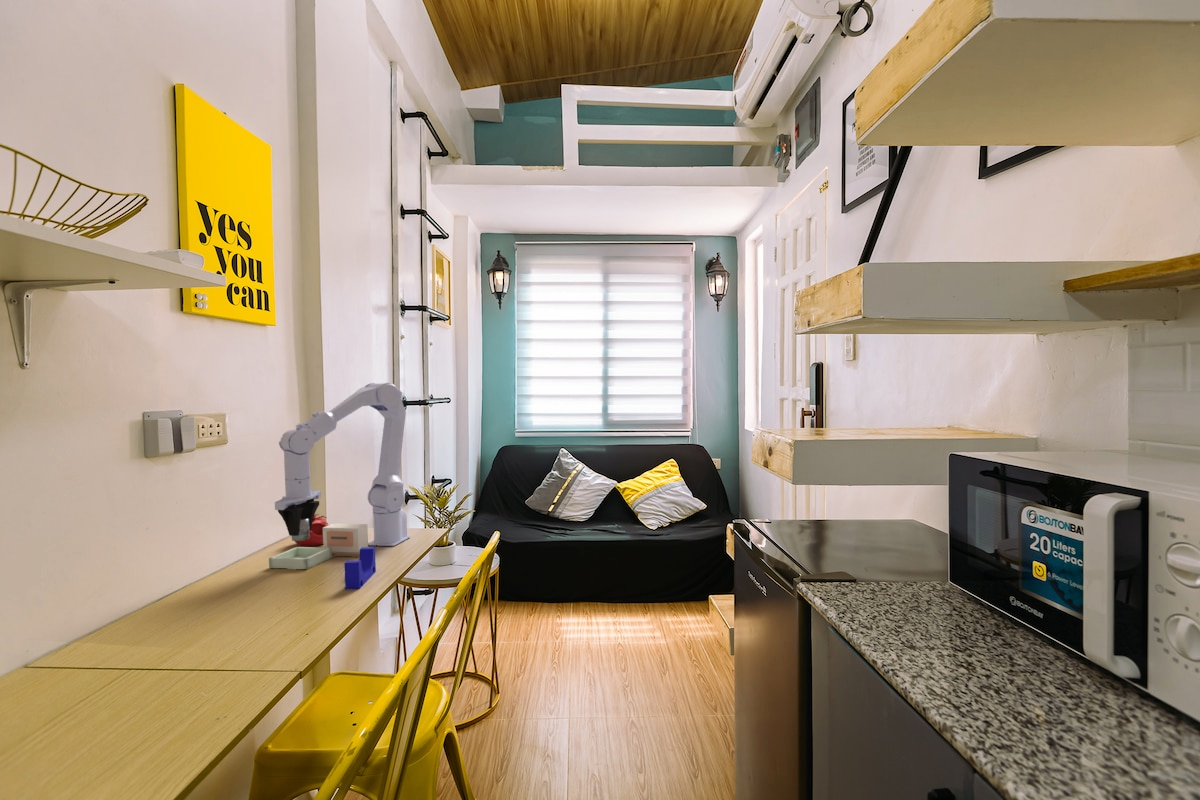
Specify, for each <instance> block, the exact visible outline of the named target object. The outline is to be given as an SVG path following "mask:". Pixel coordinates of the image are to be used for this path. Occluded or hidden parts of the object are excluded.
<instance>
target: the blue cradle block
mask: <svg viewBox="0 0 1200 800" xmlns="http://www.w3.org/2000/svg"><path fill="white" fill-rule="evenodd" d="M376 564H377V563H376V547H375V546H368V547H364V548H361V549H360V557H358V560H346V561H344V564H343V565H344V567H343V568H344V589H346V590H345V591H348V590H347V589H352V590H361V589H362V588H363V586H364V585H365V584H366V583H367V582H368V581H369V579H370V578H372V576H373V575H374V574H375V573H376V571H377V568H376V566H377V565H376Z"/></svg>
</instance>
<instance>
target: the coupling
mask: <svg viewBox="0 0 1200 800" xmlns="http://www.w3.org/2000/svg"><path fill="white" fill-rule="evenodd" d="M309 538H310V533H309V517H300V528H299V535H297V536H291V541H293V542H295V541H303V540H307V539H309Z"/></svg>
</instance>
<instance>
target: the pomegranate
mask: <svg viewBox="0 0 1200 800" xmlns="http://www.w3.org/2000/svg"><path fill="white" fill-rule="evenodd" d="M317 516H318V517H317ZM327 518H328V517H327V516H324V515H321V516H320V514H319V513H317V514H316V513H315V515H314V518H313V522H312V526H311V530H310V531H309V533H310V538H309V539H307V540H303V541H294V542H295V544H297V545H299V547H316V546H317V547H318V546H320V545H323V527H326V526H328V525H329V523H328V522H327V520H326V519H327Z"/></svg>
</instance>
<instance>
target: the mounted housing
mask: <svg viewBox="0 0 1200 800" xmlns="http://www.w3.org/2000/svg"><path fill="white" fill-rule="evenodd" d="M368 533H369V531H368V523H366V524H364V523H363V524H362V523H332V524H328V526H326V527H323V544H322V548H332V557H336V556H354V557H353V558H360V549H361V548H364V547H369V545H368V543H369V540H368V539H369V534H368Z"/></svg>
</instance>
